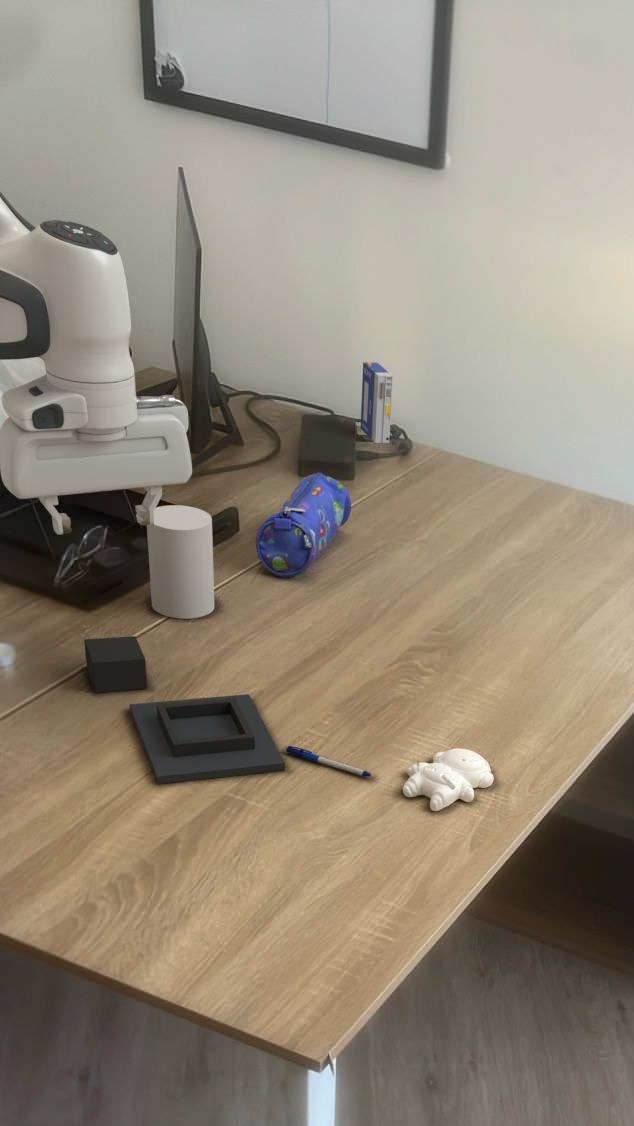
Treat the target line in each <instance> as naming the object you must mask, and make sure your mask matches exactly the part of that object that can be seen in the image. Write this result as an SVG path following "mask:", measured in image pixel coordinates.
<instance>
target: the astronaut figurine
mask: <svg viewBox="0 0 634 1126" xmlns="http://www.w3.org/2000/svg"><path fill="white" fill-rule="evenodd" d="M406 773H407V775H408V779H407V780H406V781H405V783H404V785H403V786H402V792H403V795H404V796H405V797H406V798H414V797H415V798H416V797H419V796H425V797H427V798H429V799H430V803H429V808H430V810H431V811H432V812H438V811H441V810H442V809H445V808H447V807H448V806H450V805H452V804H453V803H455V802H456V801H457V800H461V801H462V802H463V801H464V802H465V803H471V802H472V801H473V800H474V798H475V790H474V789H476V788H481V789H486V788H489V787H491V786H492V785H493V782H494V779H495V778H494V774H493V773H492V770H491V767H490V763H489V762H488V761H487V760H486V759H485V758H484V757H482V756H481V755H480V754H478V753H477V752H475V751H473V750H471V749H468V748H451V749H449V750H446V751H439V752H437V753H435V754H434V755H433V758H432V762H430V763H428V762H424V761H423V762H422V761H421V762H418V764H417V763H414V764H412V765H411V766H409V767H408V768H407V769H406Z"/></svg>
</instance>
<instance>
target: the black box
mask: <svg viewBox="0 0 634 1126" xmlns="http://www.w3.org/2000/svg"><path fill="white" fill-rule="evenodd" d="M83 643H84V653H85V664H86V670H87V674H88V676H89V679H90V681H91V684H92V687H93V689H94V693H95V694H100V693H112V692H123V691H124V692H125V691H136V690H139V691H140V690H147V689H148V678H147V663H146V662H147V661H146V657H145V655H144V653H143V651H142V647H141V646H140V643H139V641H138V639H137V636H135V635H132V636H131V635H130V636H117V637H114V636H113V637H102V638H100V637H99V638H88V639H86V638H85V639H84V640H83Z"/></svg>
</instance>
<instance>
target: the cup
mask: <svg viewBox="0 0 634 1126" xmlns="http://www.w3.org/2000/svg"><path fill="white" fill-rule="evenodd" d="M146 533H147V534H146V535H147V547H148V549H147V551H148V565H149V566H148V567H149V582H150V597H151V607H152V609H153V610H154V611H155V612H157V614H158V613H159V614H160V615H162V616H164V617H169V618H173V619H174V618H175V619H185V620H187V619H188V620H189V619H197V618H201V617H205V616H208V615H209V614H211V613H213V611H214V610H215V579H214V578H215V576H214V547H213V546H214V543H213V517H212V515H211V514H210V513H208V512H207V511H205V510H203V509H201V508H198V507H193V506H188V505H182V504H181V505H179V504H178V505H177V504H171V505H170V504H169V505H161V506H156V508H155V510H154V524H150V525H146Z"/></svg>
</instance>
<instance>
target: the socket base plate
mask: <svg viewBox="0 0 634 1126" xmlns="http://www.w3.org/2000/svg"><path fill="white" fill-rule="evenodd" d="M128 709H129V713H130V717H131V718H132V721H133V724H134V727H135V728H136V729H135V730H136V731H137V734H138V736H139V739H140V742H141V744H142V747H143V750H144V752H145V755H146V757H147V760H148V762H149V765H150V767H151V770H152V773H153V775H154V777H155V780H156V783H157V785H163V784H172V783H181V782H190V781H191V782H192V781H200V780H209V779H218V778H226V777H235V776H245V775H255V774H263V773H272V772H281V771H282V772H283V771H286V762H285V760H284V758H283V756H282V755H281V753H280V750H279V749H278V747H277V745H276V743H275V741H274V739H273V737H272V736H271V734H270V732H269V730H268V727H267V726H266V724H265V722H264V721H263V719H262V718H263V717H261V715H260V713H259V711H258V709H257V707H256V705H255V703H254V701H253V699H252V697H251V696H250V694H249V693H247V694H235V695H224V696H223V695H221V696H212V697H198V698H188V699H187V698H186V699H176V700H174V699H173V700H165V701H163V700H162V701H153V702H141V703H140V702H139V703H129V705H128Z"/></svg>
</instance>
